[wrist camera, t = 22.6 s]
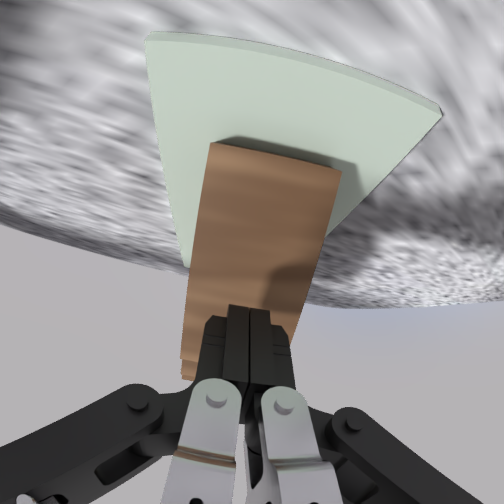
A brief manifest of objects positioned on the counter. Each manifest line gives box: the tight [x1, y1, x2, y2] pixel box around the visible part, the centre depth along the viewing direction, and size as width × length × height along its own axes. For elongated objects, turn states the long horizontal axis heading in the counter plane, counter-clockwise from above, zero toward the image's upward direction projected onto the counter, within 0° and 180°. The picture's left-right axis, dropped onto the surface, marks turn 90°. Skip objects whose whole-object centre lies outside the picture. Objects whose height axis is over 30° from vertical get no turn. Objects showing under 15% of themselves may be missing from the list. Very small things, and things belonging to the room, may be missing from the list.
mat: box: [144, 32, 442, 268], centre depth 20 cm, size 26×10×1 cm, turn 171°
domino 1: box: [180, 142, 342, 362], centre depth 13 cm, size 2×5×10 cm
